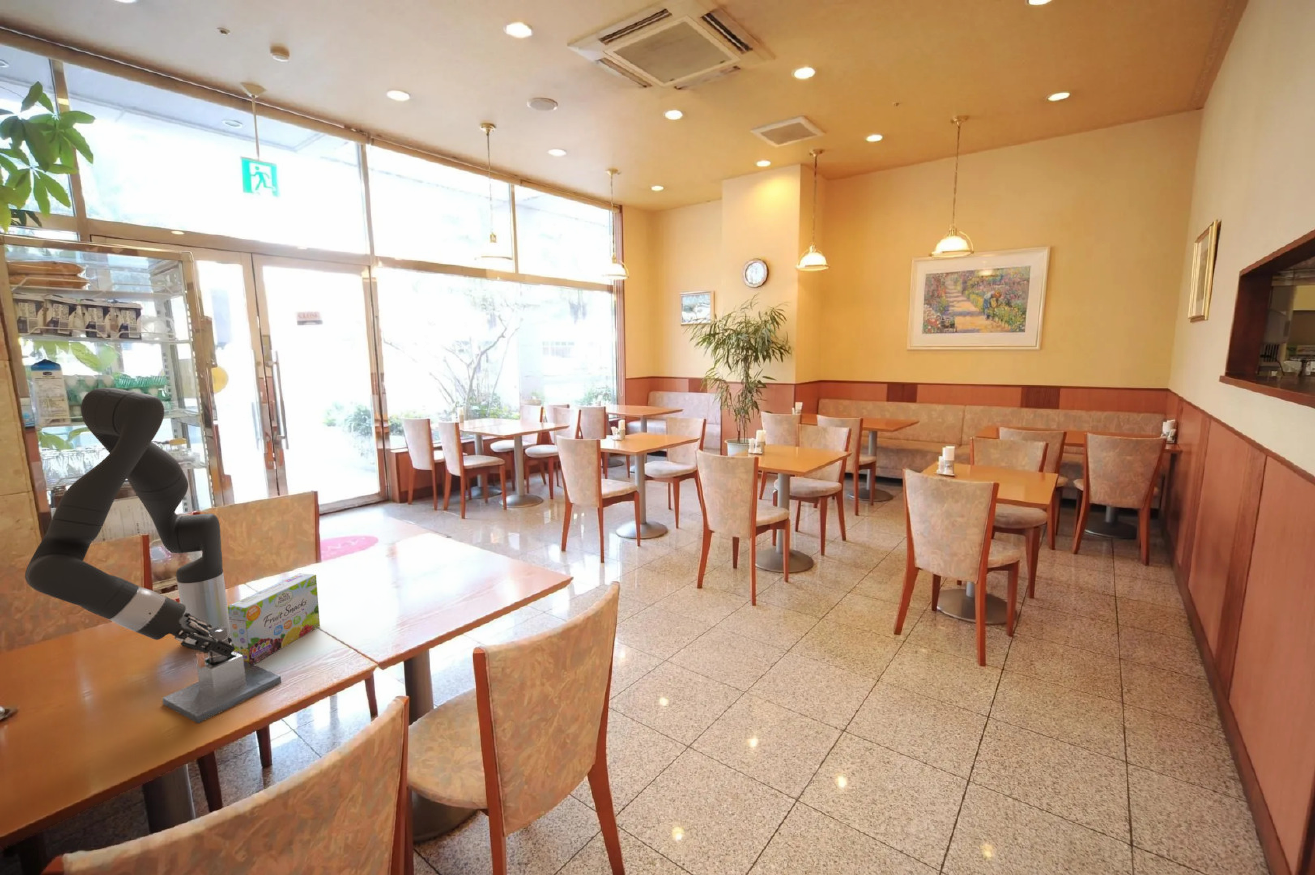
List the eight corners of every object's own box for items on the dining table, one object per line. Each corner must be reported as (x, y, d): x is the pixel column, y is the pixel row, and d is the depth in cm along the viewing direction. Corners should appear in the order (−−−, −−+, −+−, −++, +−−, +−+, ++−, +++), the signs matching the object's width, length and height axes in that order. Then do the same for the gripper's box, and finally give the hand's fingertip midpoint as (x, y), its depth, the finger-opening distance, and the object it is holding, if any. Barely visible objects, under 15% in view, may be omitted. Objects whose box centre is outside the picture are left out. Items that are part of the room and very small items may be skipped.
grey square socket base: (163, 704, 119) (156, 655, 118) (246, 667, 133) (240, 623, 132) (198, 723, 113) (191, 672, 111) (281, 682, 127) (276, 636, 126)
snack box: (252, 668, 133) (245, 607, 131) (232, 665, 134) (225, 605, 132) (322, 626, 154) (316, 573, 152) (304, 624, 155) (298, 571, 153)
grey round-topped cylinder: (208, 686, 122) (201, 632, 120) (227, 678, 125) (221, 625, 124) (218, 691, 121) (210, 636, 119) (237, 682, 124) (230, 628, 122)
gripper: (165, 607, 109) (249, 644, 119) (162, 586, 120) (239, 621, 130) (132, 642, 107) (220, 677, 117) (131, 617, 117) (212, 651, 127)
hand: (229, 647), depth 123 cm, fingers open, 4 cm apart
